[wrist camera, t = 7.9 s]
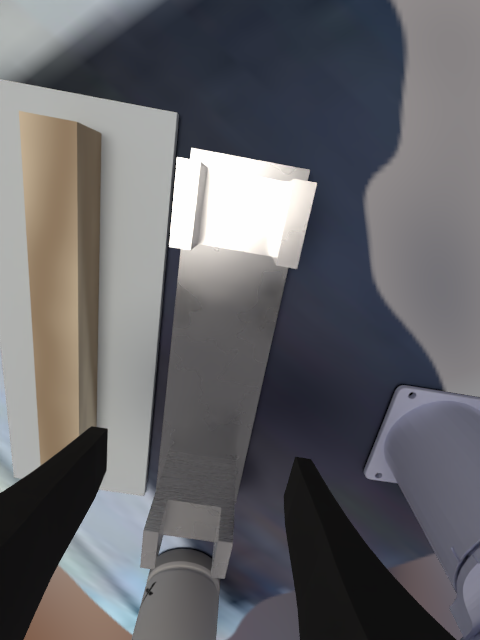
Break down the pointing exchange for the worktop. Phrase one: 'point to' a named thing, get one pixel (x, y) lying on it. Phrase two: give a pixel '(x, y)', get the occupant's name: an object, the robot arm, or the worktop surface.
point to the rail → (62, 272)
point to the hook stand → (221, 335)
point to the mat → (114, 273)
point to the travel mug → (179, 599)
